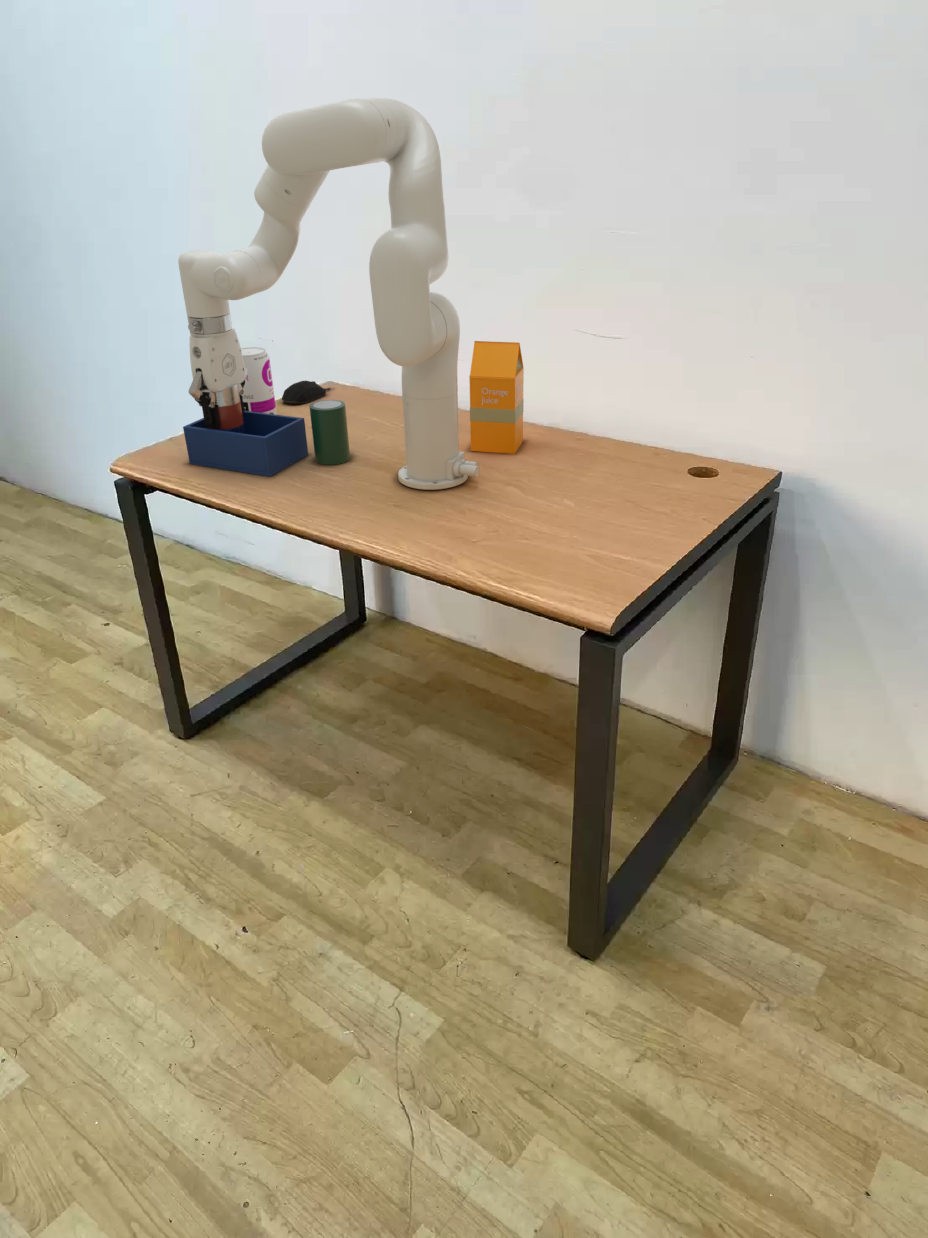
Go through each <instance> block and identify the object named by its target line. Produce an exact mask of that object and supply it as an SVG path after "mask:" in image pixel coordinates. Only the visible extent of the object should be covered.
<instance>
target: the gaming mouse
mask: <svg viewBox="0 0 928 1238" xmlns="http://www.w3.org/2000/svg"><path fill="white" fill-rule="evenodd" d="M329 390H331V387H327V388H326V387H324V388H323V387H322V386H321V385H319V384H318V383H316V381H315V380H314V381H309V380H301V381H298V382H295V383H293V384H291V385H289V386H288V387H287V388H286V389H285V390H284V391H283V394H282V396H281V400H282V401H283V402H284V403H287V404H290V405H291V404H292V405H303V404H307V403H310V402H313V401H314V400H317V399H319V398H322V397H324V396H325V394H326V393H327V391H329Z"/></svg>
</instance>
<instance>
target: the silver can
mask: <svg viewBox="0 0 928 1238" xmlns="http://www.w3.org/2000/svg"><path fill="white" fill-rule="evenodd" d="M205 389H208V388H207V387H205ZM209 395H210V393H206V397H207V398H208V399H209ZM215 406H216V407H218V412H219V419H220V425H221V426H220V428H211V427H208V428H209V429H213V430H220V431H228V432H235V433H242V434H245V429H244V422H243V415H242V408H241V401H240V395H239V389H238V383H236V384H234V385H232V386H229V387H227V388H226V389H225V390H224V391H222V392H219V393H216V400H215Z"/></svg>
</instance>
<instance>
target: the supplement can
mask: <svg viewBox="0 0 928 1238" xmlns="http://www.w3.org/2000/svg"><path fill="white" fill-rule="evenodd" d="M241 352H242V356H243V361H244V367H245V368H246V369H247V370H248V373H247V376H246V379H245V385H244V387H243V390H244V394H243V395H241V396H242V398H243V405H244V411H251V412H259V413H267V414H275V415H278V414H277V413H278V412H277V406H276V398H275V391H274V383H273V376H272V375H273V374H272V368H271V360H270V356H269V354H268V353H267V351H266V348H263V347H258V346H257V347H255V346H251V347H241Z"/></svg>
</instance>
